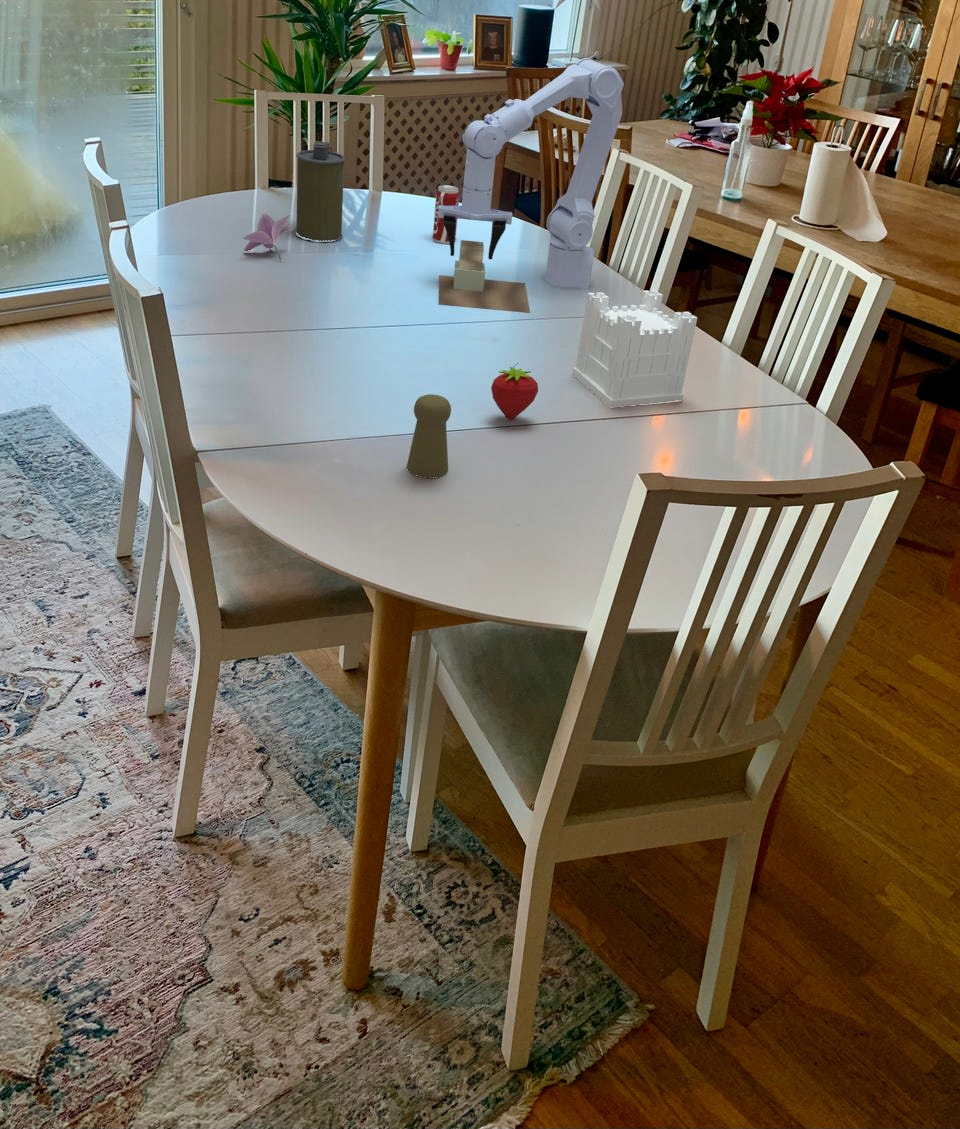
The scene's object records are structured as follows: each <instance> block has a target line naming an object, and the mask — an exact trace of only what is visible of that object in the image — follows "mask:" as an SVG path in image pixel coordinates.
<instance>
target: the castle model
mask: <svg viewBox="0 0 960 1129" xmlns="http://www.w3.org/2000/svg"><path fill="white" fill-rule="evenodd" d="M641 294H642V295H641V299H640V304H639V305H638V306H637V305H635V304H630V305H629V307H628V306H627V305H620V307H619V306H617V305H612V306H611V309H610V307H609V301H610V297H609V296H608V295H606V294H605V293H604V292H602V291H601V292H595V293H594V292H587V295H586V299H585V300H586V301H585V308H584V313H583V320H582V325H581V332H580V338H579V339H580V340H579V345H578V350H577V351H578V352H577V356H576V364H575V367H574V366H573V367H572V371H571V376H572V377H574V376H575V377H576V378H577V379H578V380H579V381H580V382H579V383H581V384H582V385H583V386H584V385H585V386H586V387H587V388H586V387H585V386H584V387H585V388H586V389H587V390H589V389H590V390H591V391H592V392H593V393H594V394H595V395H594V394H593V393H592V392H591V391H590V390H589V391H590V392H591V393H592V394H593V395H594V396H595V397H597V398H598V399H599V398H600V399H601V400H602V401H603V403H604V402H605V403H606V404H607V405H608V406H609V407H620V406H631V405H640V404H649V403H658V402H666V401H667V402H668V401H675V400H684V397H685V396H684V393H682V390H683V388H684V387H683V386H684V382H685V377H686V373H687V368H688V363H689V359H690V353H691V351H692V350H691V349H692V345H693V340H694V335H695V330H696V328H697V327H696V326H697V321H698V317H697V316H696V315H693V314H692V313H691V312H690V311H682V312H681V311H677V312H674V317H673V318H672V317H671V318H670V315H668V314H664V312H663V310H661V307H662V303H663V302H662V301H663V298H664V295H663V294H662V293H660V292H659V291H658V290H656V289H651V290H650V291H649V290H642V293H641ZM619 308H620V309H619ZM575 377H574V378H575ZM576 378H575V379H576ZM577 379H576V380H577ZM578 380H577V381H578ZM600 399H599V400H600ZM601 400H600V401H601ZM602 401H601V402H602ZM605 403H604V404H605ZM606 404H605V405H606ZM607 405H606V406H607ZM608 406H607V407H608ZM609 407H608V408H609Z"/></svg>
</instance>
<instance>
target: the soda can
mask: <svg viewBox="0 0 960 1129" xmlns="http://www.w3.org/2000/svg"><path fill="white" fill-rule="evenodd" d="M459 189H460V188H458V187H456V186H453V185H438V187H437V191H436V192H435V193H436V194H435V203H434V204H435V205H434V206H435V207H434V218H433V232H432V239H433V241H434V242H435V243H438V244H441V245H450V243H449V238H448V235H447V231H446V228H445V226H444V218H438V212H439V205H441V206H460V205H459V204H460V192H459ZM457 226H458V219H457V218H456V229H455V240H454V243H455V242H456V237H457V228H458V227H457Z"/></svg>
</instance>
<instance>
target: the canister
mask: <svg viewBox="0 0 960 1129" xmlns="http://www.w3.org/2000/svg"><path fill="white" fill-rule="evenodd" d="M295 156H296V158H297V171H296V174H297V175H296V227H295V228H296V231H295V232H297V233H298V234H299V235H300V236H302V237H305V238H309V239H312V240H319V241H320V240H321V241H323V240H324V241H325V240H327V241H328V240H330V241H331V240H339V239H341V238H342V239H343V232H342V230H343V229H342V226H343V225H342V224H343V202H344V198H343V197H344V176H345V175H344V174H345V161H346V157H345V156H344V155H343V154H341V153H338V152H334V151H333V150H332V147H330V142H329V141H320V140H319V141H318V140H315V141H314V143H313V149H307V150H306V149H305V150H301V151H298V152H297V153H296V155H295ZM342 239H341V240H342ZM339 241H340V240H339Z"/></svg>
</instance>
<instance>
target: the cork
mask: <svg viewBox="0 0 960 1129" xmlns="http://www.w3.org/2000/svg"><path fill="white" fill-rule="evenodd" d="M413 413H414V417H415V419H416V424H415V427H414V432H413V437H412V442H411V446H410V450H409V453H408V459H407V463H406V470H407V469H408V470H407V471H408V472H409V471H410V472H411V473H413V474H415V475H418V476H421V477H426V478H425V479H436V478H435V477H439V478H441V477H440V476H442V477H444V476H446V475H447V474H448V473H449V458H448V456H449V453H448V434H447V432H448V431H447V422H448V420H449V419H450V417H451V413H452V406H451V403H450V401H449V400H448V399H447V398H446V397H444V396H441V395H439V394H432V393H431V394H430V393H429V394H423V395H422V396H419V397H418V398H417V399H416V400H415V402H414V406H413ZM410 472H409V473H410ZM447 472H448V473H447ZM411 473H410V474H411ZM446 473H447V474H446ZM413 474H412V475H413ZM445 474H446V475H445ZM415 475H414V476H415ZM443 475H444V476H443ZM418 476H417V477H418ZM421 477H420V478H421ZM430 477H431V478H430ZM433 477H434V478H433Z"/></svg>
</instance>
